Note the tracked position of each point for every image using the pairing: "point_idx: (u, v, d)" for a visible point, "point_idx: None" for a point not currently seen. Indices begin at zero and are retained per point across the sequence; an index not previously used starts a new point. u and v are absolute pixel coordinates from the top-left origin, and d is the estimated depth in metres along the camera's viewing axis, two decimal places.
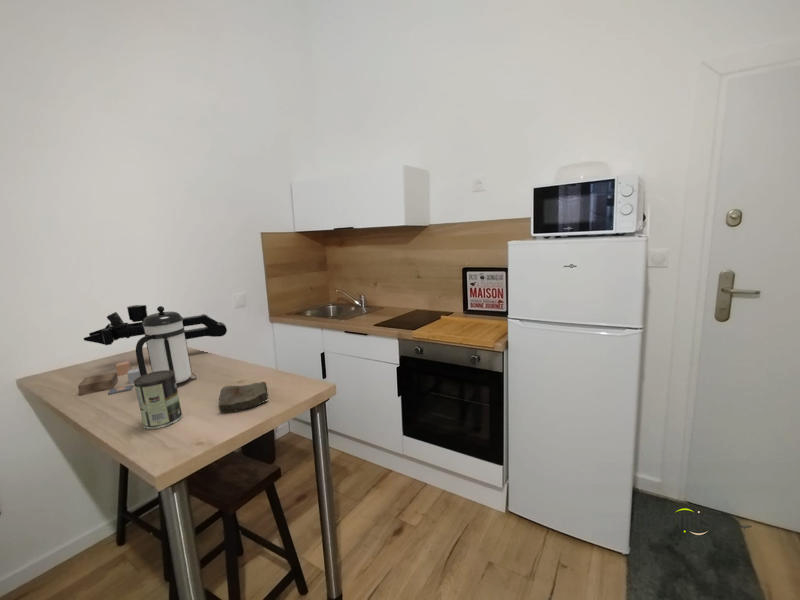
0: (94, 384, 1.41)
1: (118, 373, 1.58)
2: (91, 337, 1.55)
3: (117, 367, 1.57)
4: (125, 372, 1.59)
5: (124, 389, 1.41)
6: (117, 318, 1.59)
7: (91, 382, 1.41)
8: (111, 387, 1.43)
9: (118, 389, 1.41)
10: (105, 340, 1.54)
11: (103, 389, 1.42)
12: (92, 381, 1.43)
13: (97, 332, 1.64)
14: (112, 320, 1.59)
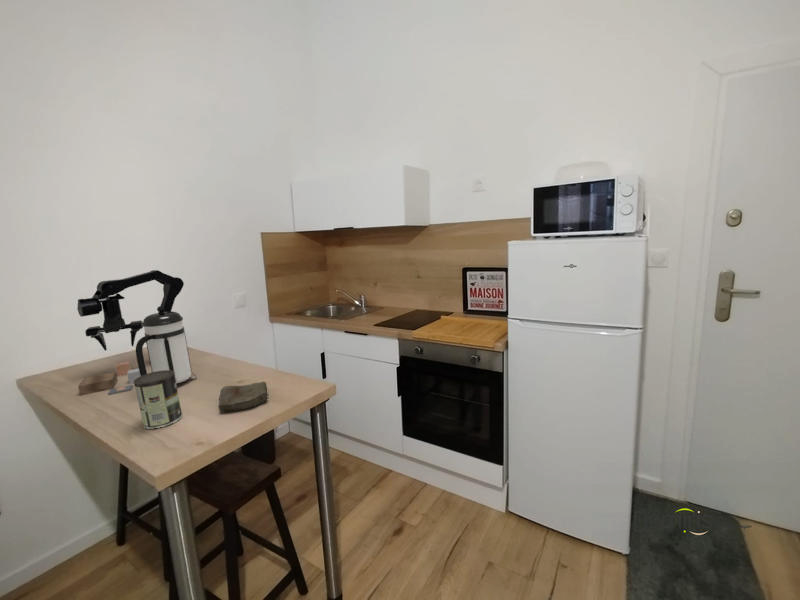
0: (94, 384, 1.41)
1: (118, 373, 1.58)
2: (134, 339, 1.60)
3: (117, 367, 1.57)
4: (125, 372, 1.59)
5: (124, 389, 1.41)
6: (123, 320, 1.53)
7: (91, 382, 1.41)
8: (111, 387, 1.43)
9: (118, 389, 1.41)
10: None
11: (103, 389, 1.42)
12: (92, 381, 1.43)
13: (104, 343, 1.56)
14: (124, 324, 1.54)
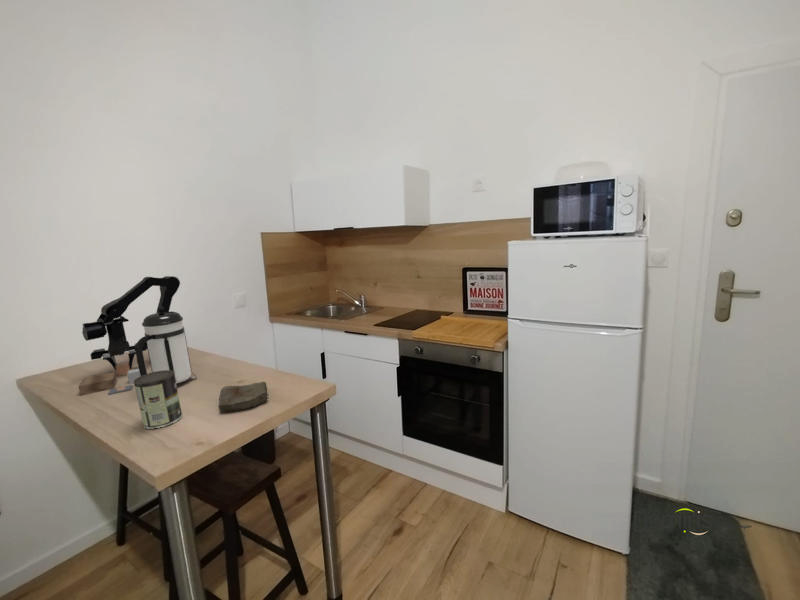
0: (95, 384, 1.41)
1: (118, 373, 1.58)
2: (132, 362, 1.61)
3: (117, 367, 1.57)
4: (125, 372, 1.59)
5: (124, 389, 1.41)
6: (128, 343, 1.54)
7: (92, 382, 1.41)
8: (112, 387, 1.44)
9: (118, 389, 1.41)
10: None
11: (104, 389, 1.42)
12: (92, 381, 1.43)
13: (115, 365, 1.59)
14: (129, 347, 1.55)
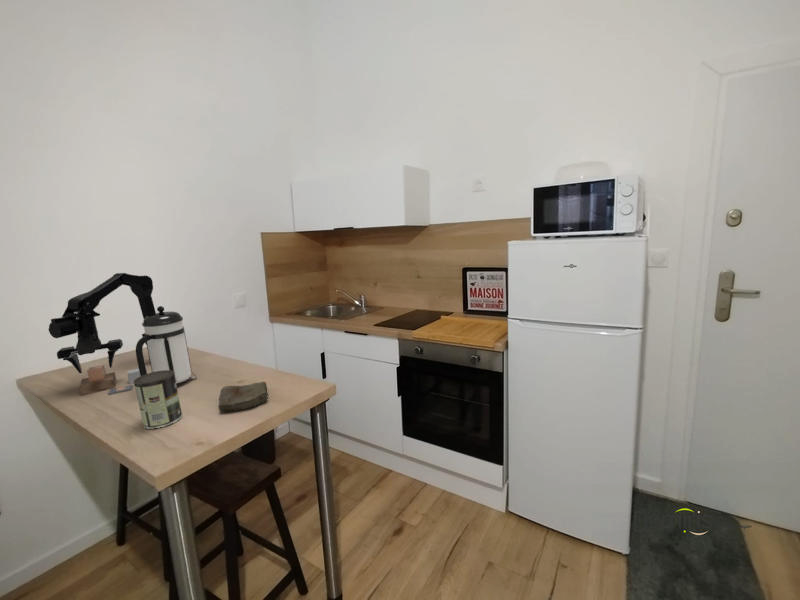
0: (96, 384, 1.41)
1: (90, 379, 1.42)
2: (112, 360, 1.46)
3: (89, 372, 1.42)
4: (98, 377, 1.43)
5: (124, 389, 1.41)
6: (99, 340, 1.39)
7: (92, 382, 1.42)
8: (113, 386, 1.44)
9: (118, 389, 1.41)
10: (122, 345, 1.48)
11: (105, 389, 1.43)
12: None
13: (78, 366, 1.42)
14: (100, 345, 1.39)
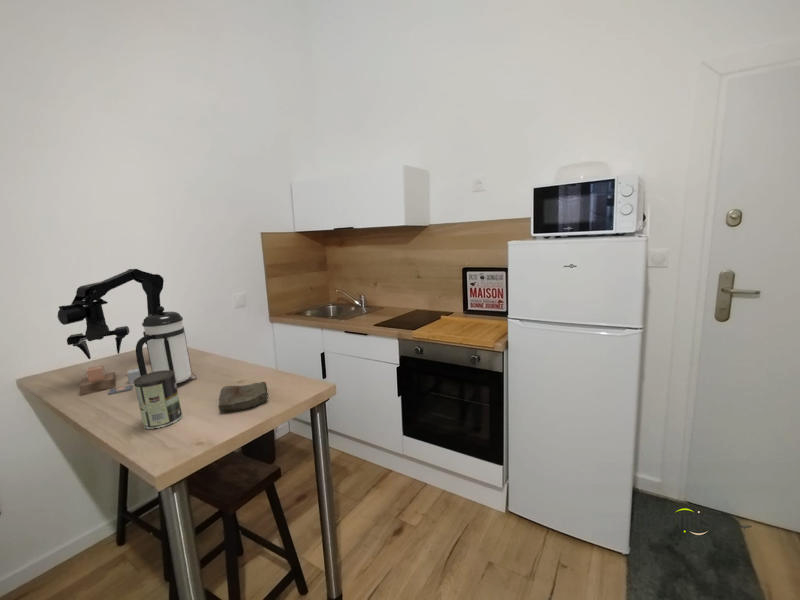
0: (96, 384, 1.41)
1: (90, 379, 1.42)
2: (119, 346, 1.52)
3: (88, 372, 1.42)
4: (98, 377, 1.43)
5: (124, 389, 1.41)
6: (107, 327, 1.44)
7: (92, 382, 1.42)
8: (113, 386, 1.44)
9: (118, 389, 1.41)
10: (128, 331, 1.54)
11: (105, 388, 1.43)
12: None
13: (87, 352, 1.47)
14: (108, 331, 1.45)
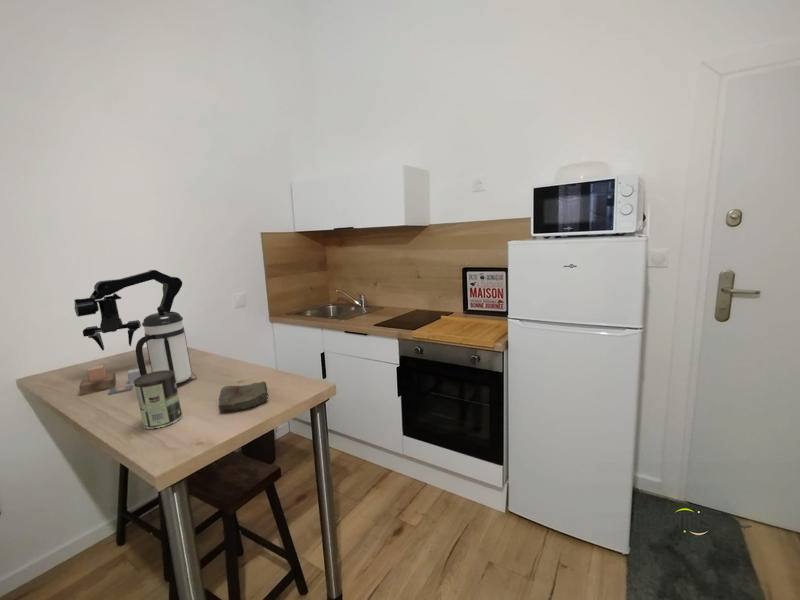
0: (96, 384, 1.41)
1: (91, 378, 1.42)
2: (131, 339, 1.61)
3: (89, 372, 1.42)
4: (99, 377, 1.44)
5: (124, 389, 1.41)
6: (120, 320, 1.53)
7: (92, 382, 1.41)
8: (113, 386, 1.44)
9: (118, 389, 1.41)
10: (140, 325, 1.63)
11: (105, 389, 1.43)
12: (92, 381, 1.43)
13: (101, 343, 1.56)
14: (121, 324, 1.54)
